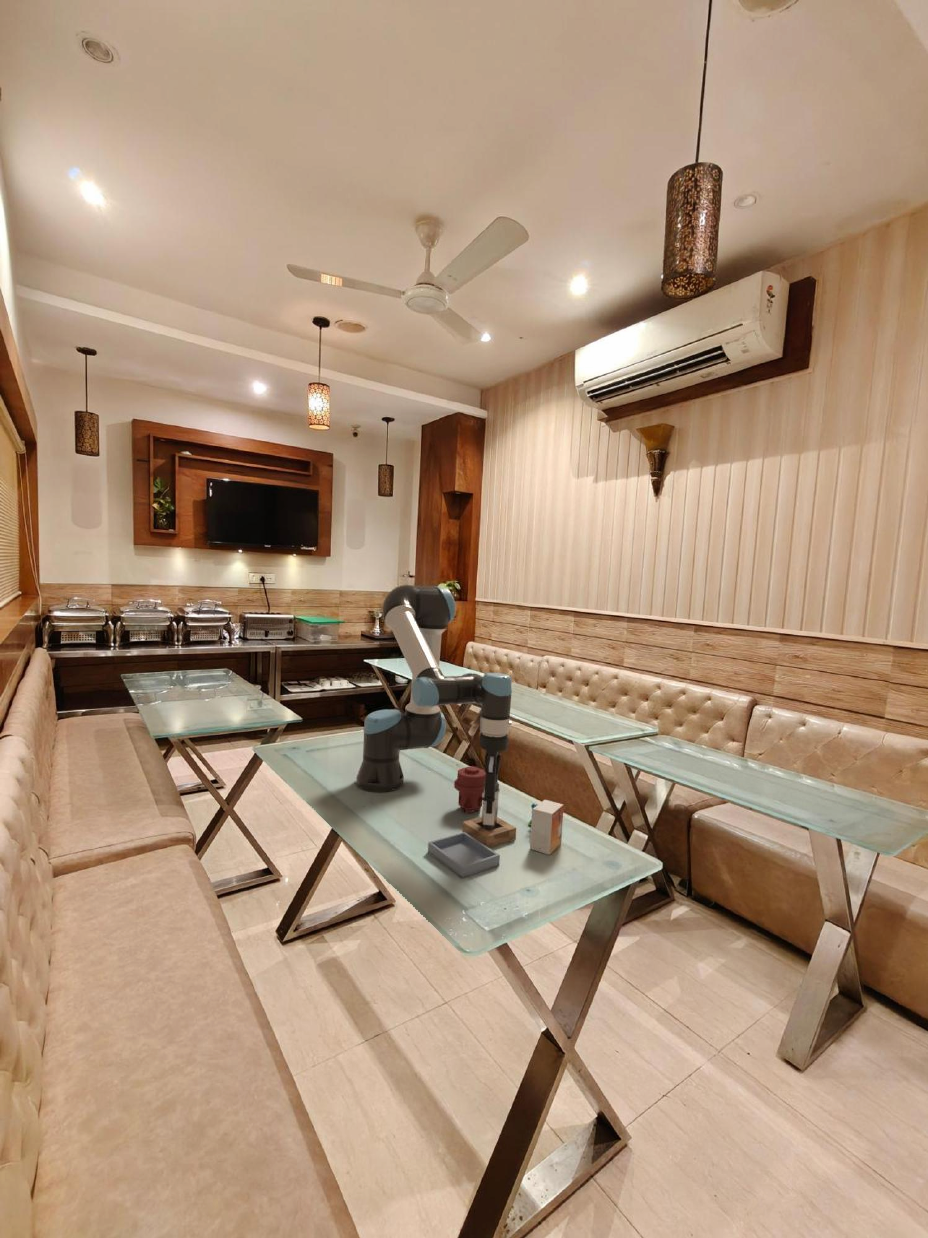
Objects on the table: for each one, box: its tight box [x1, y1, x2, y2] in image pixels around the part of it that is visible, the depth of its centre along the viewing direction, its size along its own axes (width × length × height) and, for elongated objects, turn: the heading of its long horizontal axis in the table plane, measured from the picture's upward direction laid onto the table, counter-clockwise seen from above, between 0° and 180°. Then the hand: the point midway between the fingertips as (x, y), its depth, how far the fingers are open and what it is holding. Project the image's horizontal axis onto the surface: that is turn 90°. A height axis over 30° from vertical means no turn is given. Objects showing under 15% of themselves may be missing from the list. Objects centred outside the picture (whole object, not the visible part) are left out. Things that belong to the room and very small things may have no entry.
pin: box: [481, 781, 500, 831], centre depth 143 cm, size 4×4×14 cm
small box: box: [529, 799, 565, 855], centre depth 139 cm, size 8×6×10 cm
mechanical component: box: [453, 765, 486, 815], centre depth 160 cm, size 12×10×10 cm
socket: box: [461, 816, 517, 849], centre depth 144 cm, size 10×10×3 cm
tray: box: [427, 832, 501, 879], centre depth 131 cm, size 14×11×2 cm
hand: (489, 820), depth 144 cm, fingers closed on pin, 4 cm apart
